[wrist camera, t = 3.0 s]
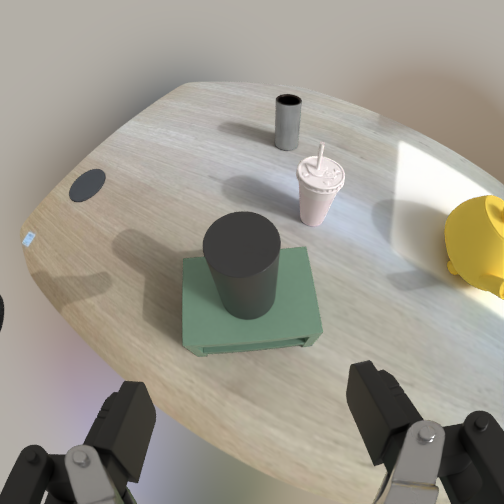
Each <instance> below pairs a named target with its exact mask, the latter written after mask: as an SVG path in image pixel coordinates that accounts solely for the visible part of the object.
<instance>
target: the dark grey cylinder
mask: <svg viewBox="0 0 504 504" xmlns="http://www.w3.org/2000/svg"><path fill="white" fill-rule="evenodd" d="M280 246H281V241H280V236H279V233H278V230H277V229H276V227H275V226H274V225H273V223H272V222H270V221H269V220H268V219H267V218H265V217H263V216H262V215H259V214H256V213H253V212H234V213H230V214H227V215H225V216H223V217H221V218H219V219H218V220H216V221H215V222H214V223H213V224H212V225H211V226H210V227H209V229H208V230H207V232H206V234H205V237H204V240H203V253H204V256H205V259H206V261H207V264H208V267H209V269H210V272H211V275H212V277H213V280H214V283H215V285H216V288H217V290H218V293H219V295H220V298H221V300H222V303H223V305H224V307H225V309H226V310H227V311H228V312H229V313H230V314H231V315H233V316H234V317H236V318H239V319H243V320H252V319H257V318H259V317H262V316H263V315H265V314H266V313H267V312H268V311H269V310H270V309H271V307H272V306H273V304H274V301H275V296H276V286H277V277H278V267H279V257H280Z"/></svg>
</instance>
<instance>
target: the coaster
mask: <svg viewBox="0 0 504 504" xmlns="http://www.w3.org/2000/svg"><path fill="white" fill-rule="evenodd" d="M104 182H105V173H104V172H103V171H102V170H100V169H93V170H90V171H87V172H85V173H84V174H82V175H81V176H80V177H78V178H77V179H76V181H75V182H74V183H73V185H72V186H71V188H70V192H69V196H70V198H71V200H72V201H74V202H82V201H85V200H87V199H89V198H91V197H92V196H93V195H95V194H96V193H97V192H98V191H99V190H100V189H101V187H102V186H103V184H104Z"/></svg>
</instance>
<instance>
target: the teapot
mask: <svg viewBox="0 0 504 504" xmlns="http://www.w3.org/2000/svg"><path fill="white" fill-rule="evenodd" d="M444 233H445V244H446V248H447V253H448V256H449V258H450V261H448V263H447V268H448V270H449V272H450V273H451V274H453V275H457V274H459V275H460V276H461V277H462V278H463V279H464V280H465V281H466V282H467V283H469V284H470V285H472V286H474V287H476V288H478V289H481V290H484V291H490V292H491V293H493V294H495V295H496V296H498V297H499V298H501V299H503V300H504V201H503V200H502V199H500V198H498V197H496V196H492V195H487V196H481V197H476V198H472V199H469V200H467V201H465V202H463V203H462V204H460V205H459V206H458V207H456V208H455V209H454V210H453V211H452V212H451V213H450V215H449V216H448V218H447V220H446V224H445V230H444Z"/></svg>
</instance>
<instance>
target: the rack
mask: <svg viewBox="0 0 504 504" xmlns="http://www.w3.org/2000/svg"><path fill="white" fill-rule="evenodd" d="M322 333H323V329H322V323H321V318H320V312H319V307H318V302H317V297H316V291H315V286H314V281H313V276H312V272H311V267H310V262H309V257H308V253H307V248H306V247H297V248H287V249H280V257H279V267H278V277H277V286H276V296H275V301H274V304H273V306H272V307H271V309H270V310H269V311H268V312H267V313H266V314H265V315H263V316H262V317H259V318H257V319H252V320H243V319H239V318H236V317H234V316H233V315H231V314H230V313H229V312H228V311H227V310H226V309H225V307H224V305H223V303H222V300H221V298H220V295H219V293H218V290H217V288H216V285H215V283H214V280H213V277H212V275H211V272H210V269H209V267H208V264H207V261H206V259H205V257H194V258H184V259H183V285H182V342H183V346H184V347H185V348H187V349H188V350H189V351H191V352H192V353H194V354H195V355H197V356H198V357H202V356H207V354H218V353H233V352H245V351H256V350H266V349H275V348H283V347H291V346H299V345H302V347H307V346H312V345H313V344H314V342H315V341H316V340H317V339H318V338H319V336H320V335H321V334H322Z"/></svg>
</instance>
